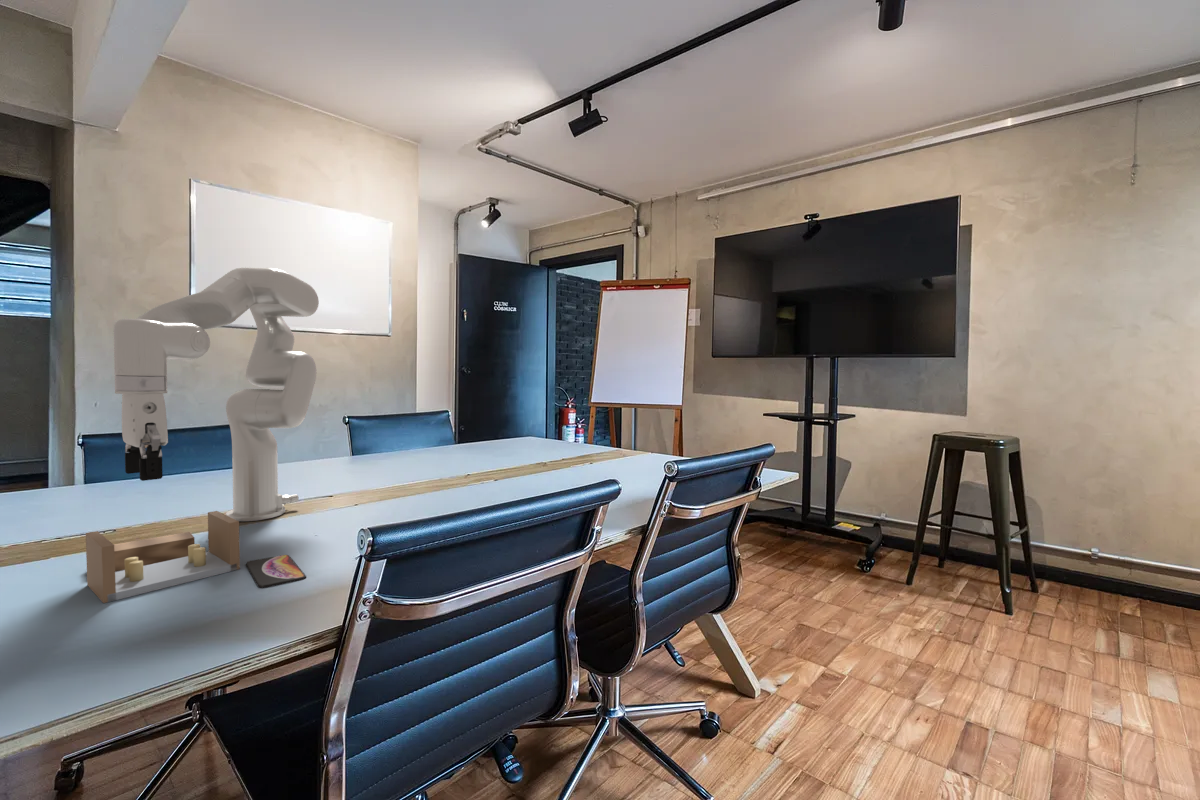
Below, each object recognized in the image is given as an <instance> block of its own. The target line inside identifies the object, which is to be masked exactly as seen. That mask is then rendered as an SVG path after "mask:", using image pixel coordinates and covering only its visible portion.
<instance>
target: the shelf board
mask: <svg viewBox="0 0 1200 800" xmlns="http://www.w3.org/2000/svg"><path fill="white" fill-rule="evenodd" d="M195 539H196V538H195V536H194V535H193V534H192V533H191V532H190V531H186V532H179V533H174V534H169V535H168V534H167V535H162V536H154V537H150V538H145V539H144V538H143V539H138V540H132V541H127V542H121V543H120V542H119V543H116V544H115V543H113V544H114V553H115V572H118V571H123V570H125V559H126V558H130V557H138V561H143V566H145V565H150V564H155V563H159V562H164V561H168V560H173V559H177V558H182V557H186V556H188V546H189V545H193V544H196V543H195V542H196V540H195Z"/></svg>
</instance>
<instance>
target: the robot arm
mask: <svg viewBox="0 0 1200 800" xmlns="http://www.w3.org/2000/svg"><path fill="white" fill-rule="evenodd" d="M319 301H320V300H319V296H318V293H317V291H316V290H315V289H314V288H313V287H312V286H311V284H309V283H308V282H306V281H304V280H301V279H300V278H298V277H297V276H295V275H293V274H291V273H289V272H286V271H284V270H282V269H278V268H274V267H238V268H234V269H231V270H230V271H228V272H227V273H225V274H224V275H222V276H221V277H219V278H218V279H216V280H215V281H214V282H213V283H211V284H210V285H208V286H207V287H205V288H204V289H203V290H201V291H199V292H196V293H193V294H190V295H186V296H182V297H180V298H178V299H177V298H176V299H174V300H171V301H168V302H164V303H162V304H160V305H157V306H155V307H153V308H151V309H149V310H147V311H145V312H144V313H142V314H141V315H139V316H138V317H136V318H121V319H118V320H116V321H115V322H114V324H113V352H114V353H113V356H114V357H113V358H114V359H113V360H114V364H113V365H114V366H113V367H114V394H117V395H119V394H120V395H122V396H121V397H122V398H121V432H122V433H121V436H122V440H123V442H124V443H125V448H124V452H125V453H124V471H125V473H126V474H128V475H129V474H137V473H139V480H140V481H143V482H144V481H153V480H160V479H162V478H164V477H163V476H164V475H163V452H162V446H166V445H167V444H168V443H169V436H168V435H169V434H168V420H167V419H168V418H167V410H166V409H167V408H166V403H165V396H164V394H168V364H167V363H168V361H167V360H171V361H172V360H175V361H191V360H195V359H199V358H201V357H203V356H204V355H206V354H207V352H208V351H209V348H210V346H211V341H210V337H209V334H208V333H207V332H206V330H212V329H217V328H220V327H225V326H227V325H230V324H232V323H234V322H236V320H238V318H240V317H241V316H242V315H243V314H244V313H246V312H247V311H248V310H250V313H251V316H252V317H253V319H254V322H255V325H256V330H257V331H256V338H255V341H254V345H253V348H252V350H251V353H250V356H249V359H248V362H247V366H246V371H245V377H246V380H247V381H248V382H249V384H251V385H253V386H255V387H260V388H246V389H241V390H238V391H235V392H233V393H231V395H230V396H229V397H228V399H227V401H226V405H225V409H226V410H225V411H226V417H227V420H228V425H229V428H230V430H229V431H230V435H231V458H232V459H231V460H232V462H231V464H232V466H231V467H232V506H233V508H232V509H231V510H228V511H226V512H225V515H227V516H229V517H231V518H233V519H235V520H237V521H239V522H255V521H262V520H268V519H273V518H277V517H279V516H281V515H283V514H284V513H286V507H285V505H286V504H288V503H290V504H291V503H297V502H299V495H298V494H290V495H289V494H280V493H279V480H278V479H279V477H278V475H279V472H278V469H279V468H278V443H277V439H276V437H275V436H274V433H272V431H271V429H292V428H294V429H295V428H296V427H298V426H300V425H301V424H302V423H303V422H304V420H305V418H306V415H307V413H308V410H309V409H308V408H309V406H310V402H311V399H312V395H313V391H314V388H315V384H316V380H317V365H316V362H315V360H314V358H313V356H311V355H310V354H309V353H306V352H304V351H295V350H293V349H294V343H295V336H294V333H293V331H292V329H291V328H290V327H289V325H288V324H287V323H286V322H285V320H284V318H283V317H293V318H294V317H297V318H298V317H299V318H300V317H301V318H304V317H310V316H312V315H314V314H315V313H316V311H317V310H318V308H319ZM267 388H268V389H267ZM271 388H272V389H271Z"/></svg>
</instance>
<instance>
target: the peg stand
mask: <svg viewBox="0 0 1200 800" xmlns="http://www.w3.org/2000/svg"><path fill="white" fill-rule="evenodd" d="M207 534H208V535H207V537H208V538H207V539H208V543H207V544H208V551H206V549H207V548H206V547H205V546H204V547H203V546H201V544H200V543H195V544H193V545H189V546H188V556H186V557H182V558H177V559H173V560H168V561H164V562H159V563H155V564H150V565H145V566H143V561H138V557H130V558H126V559H125V570H120V571H115V553H114V544H115V543H113V542H111V541H110V540H109V539H108V538H107V537H105V536H104V535H103V534H102V533H100V531H98V530H96V531H91V532H86V533H85V553H86V554H85V557H86V558H85V559H86V584H87V586H88V587H89V589H90V590H91V591H92V592H93V593H94V594H95V596H97V598H98V599H99V600H100V601H101V602H102V603H103V604H106V603H109V602H114V601H119V600H122V599H126V598H129V597H130V598H131V597H134V596H138V595H143V594H146V593H150V592H155V591H157V590H162V589H166V588H170V587H174V586H178V585H181V584H186V583H190V582H193V581H199V580H201V579H205V578H210V577H213V576H218V575H221V574H225V573H229V572H230V573H231V572H233V571H237V570H241V566H240V565H241V563H240V562H241V561H240V559H241V558H240V552H241V551H240V550H241V549H240V521H237V520H235V519H233V518H231V517H229V516H227V515H226V514H224V513H222V512H220V511H218V510H213V511H209V512H207Z"/></svg>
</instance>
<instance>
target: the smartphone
mask: <svg viewBox="0 0 1200 800" xmlns="http://www.w3.org/2000/svg"><path fill="white" fill-rule="evenodd" d="M245 566H246V568H247V570H248V572H249V573H250V575H251V577H252V579H253V580H254V582H255V583H256V585H257V588H259V589H265V588H271V587H275V586H280V585H284V584H289V583H294V582H299V581H303V580H305V579H306V578H307V575H306V574H305V573H304V572H303V570H302V569H301V567H300V566H298V564H297V563H296V562H295V560H294V559H293V558H292V557H291V556H290V554H289V555H288V554H282V555H276V556H271V557H265V558H259V559H258V558H257V559H253V560H248V561H246V562H245Z"/></svg>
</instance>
